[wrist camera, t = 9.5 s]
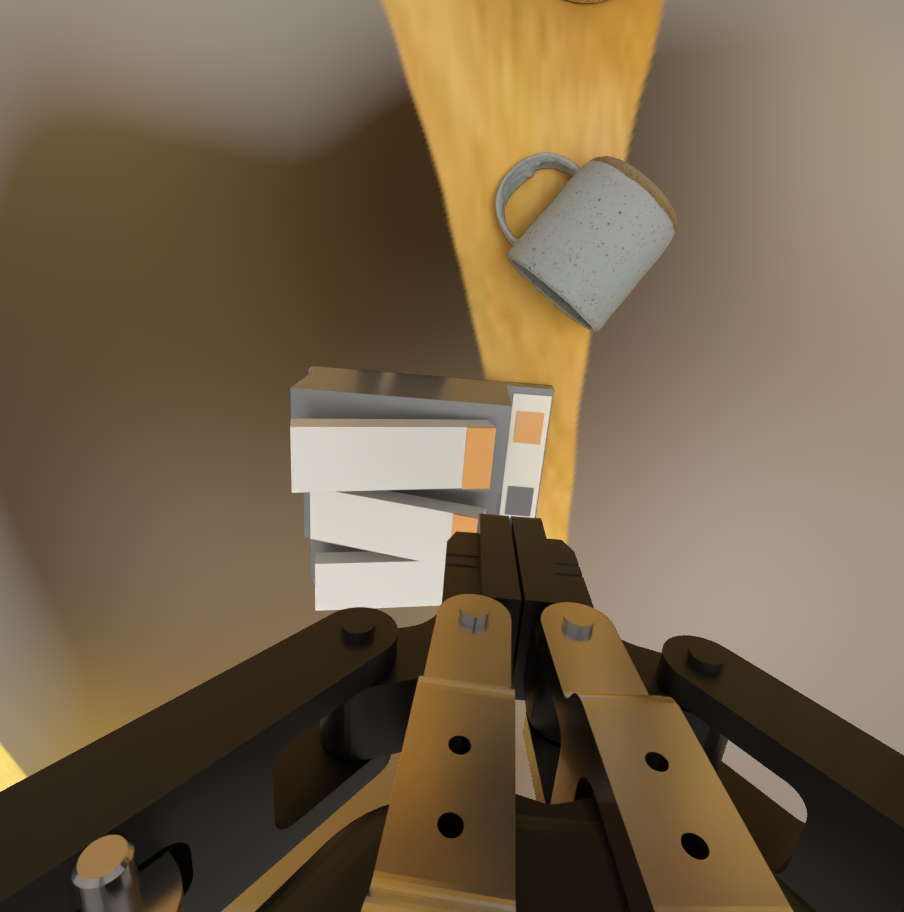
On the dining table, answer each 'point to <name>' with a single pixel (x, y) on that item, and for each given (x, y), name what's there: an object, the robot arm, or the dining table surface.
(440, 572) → the block
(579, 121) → the dining table surface
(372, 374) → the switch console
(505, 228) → the ceramic mug
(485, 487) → the front rocker
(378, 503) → the middle rocker
